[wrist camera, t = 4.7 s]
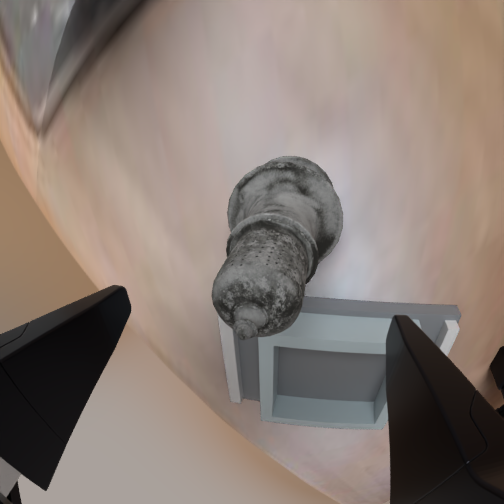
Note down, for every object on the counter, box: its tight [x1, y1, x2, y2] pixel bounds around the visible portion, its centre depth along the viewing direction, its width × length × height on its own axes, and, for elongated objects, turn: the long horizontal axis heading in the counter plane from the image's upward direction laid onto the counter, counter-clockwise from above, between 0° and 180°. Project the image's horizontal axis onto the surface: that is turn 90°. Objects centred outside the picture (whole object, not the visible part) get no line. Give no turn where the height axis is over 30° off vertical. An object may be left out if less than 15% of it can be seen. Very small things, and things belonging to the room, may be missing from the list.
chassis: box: [217, 297, 461, 429], centre depth 22 cm, size 18×12×4 cm, turn 92°
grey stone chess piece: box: [212, 156, 343, 340], centre depth 13 cm, size 6×6×12 cm
